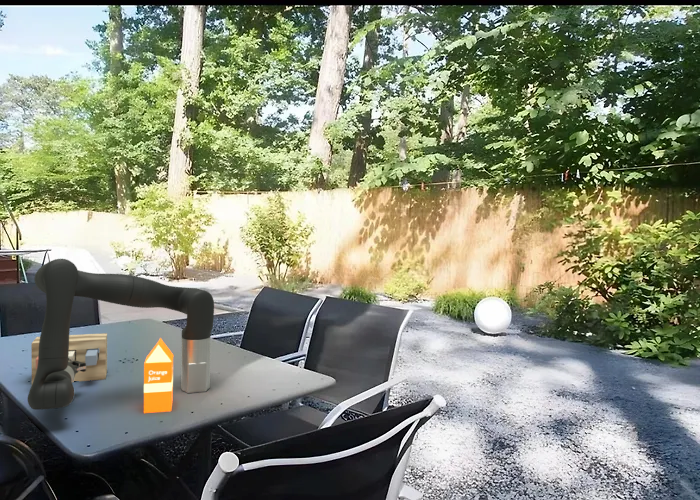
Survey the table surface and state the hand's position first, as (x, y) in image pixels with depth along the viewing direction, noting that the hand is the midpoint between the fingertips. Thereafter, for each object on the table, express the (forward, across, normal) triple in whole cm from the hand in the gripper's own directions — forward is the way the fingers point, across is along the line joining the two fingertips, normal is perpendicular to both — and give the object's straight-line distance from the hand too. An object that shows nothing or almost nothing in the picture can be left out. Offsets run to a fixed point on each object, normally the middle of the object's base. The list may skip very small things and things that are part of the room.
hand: (66, 361), depth 166 cm
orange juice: (-26, -27, +9) cm, 39 cm away
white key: (+6, 0, +2) cm, 6 cm away
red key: (+4, +7, +2) cm, 8 cm away
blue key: (+4, -7, +2) cm, 8 cm away
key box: (+12, 0, +9) cm, 15 cm away
